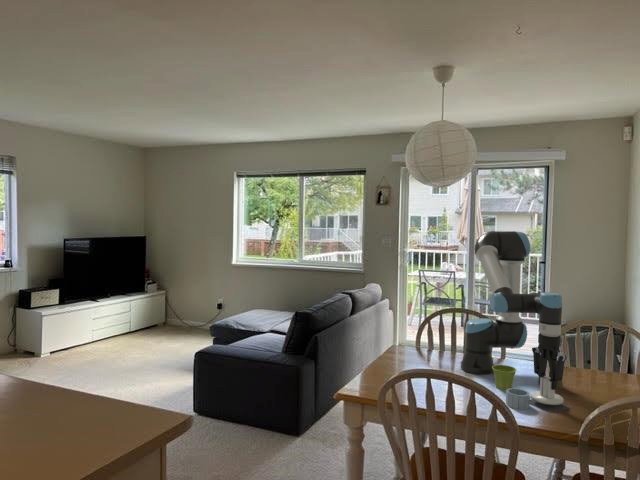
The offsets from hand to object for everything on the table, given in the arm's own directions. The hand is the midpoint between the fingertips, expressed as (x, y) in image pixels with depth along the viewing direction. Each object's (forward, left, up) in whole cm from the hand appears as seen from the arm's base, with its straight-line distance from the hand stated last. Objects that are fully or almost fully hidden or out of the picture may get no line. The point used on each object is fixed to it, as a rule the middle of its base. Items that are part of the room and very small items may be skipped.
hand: (547, 395), depth 178 cm
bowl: (-4, -11, -4) cm, 12 cm away
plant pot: (-20, -1, -4) cm, 20 cm away
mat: (0, 0, -4) cm, 4 cm away
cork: (-13, +21, -4) cm, 25 cm away
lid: (0, 0, -1) cm, 1 cm away
